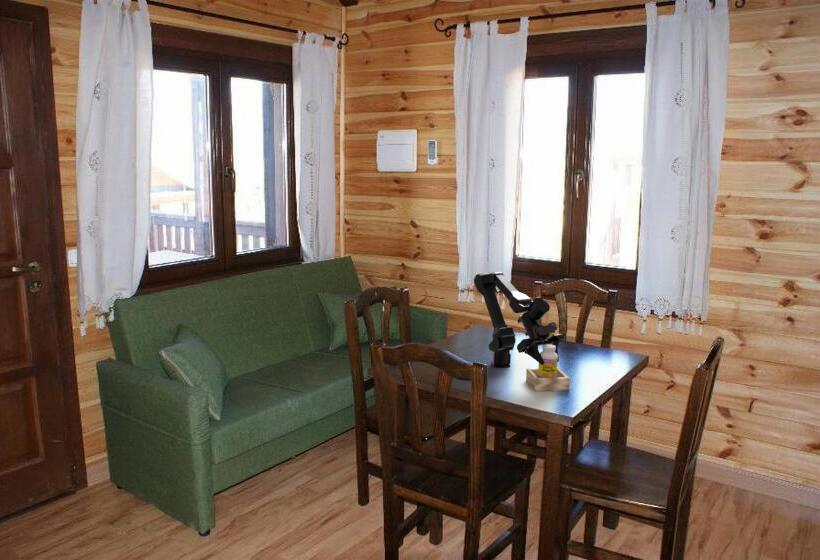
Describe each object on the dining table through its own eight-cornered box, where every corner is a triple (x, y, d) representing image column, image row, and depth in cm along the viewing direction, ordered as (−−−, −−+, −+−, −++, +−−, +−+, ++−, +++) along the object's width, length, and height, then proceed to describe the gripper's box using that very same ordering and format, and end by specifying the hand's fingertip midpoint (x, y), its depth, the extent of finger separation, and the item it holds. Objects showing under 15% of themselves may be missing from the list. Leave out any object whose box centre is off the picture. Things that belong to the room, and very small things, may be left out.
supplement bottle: (539, 382, 253) (541, 348, 251) (536, 376, 260) (538, 343, 257) (558, 382, 253) (560, 348, 251) (554, 377, 260) (556, 343, 257)
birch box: (535, 391, 250) (536, 379, 249) (526, 380, 262) (526, 368, 261) (569, 390, 251) (569, 378, 251) (558, 379, 264) (558, 367, 263)
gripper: (523, 317, 251) (541, 355, 244) (562, 312, 260) (581, 348, 253) (508, 333, 259) (526, 370, 252) (547, 328, 268) (565, 363, 261)
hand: (550, 363), depth 254 cm, fingers closed on supplement bottle, 7 cm apart
